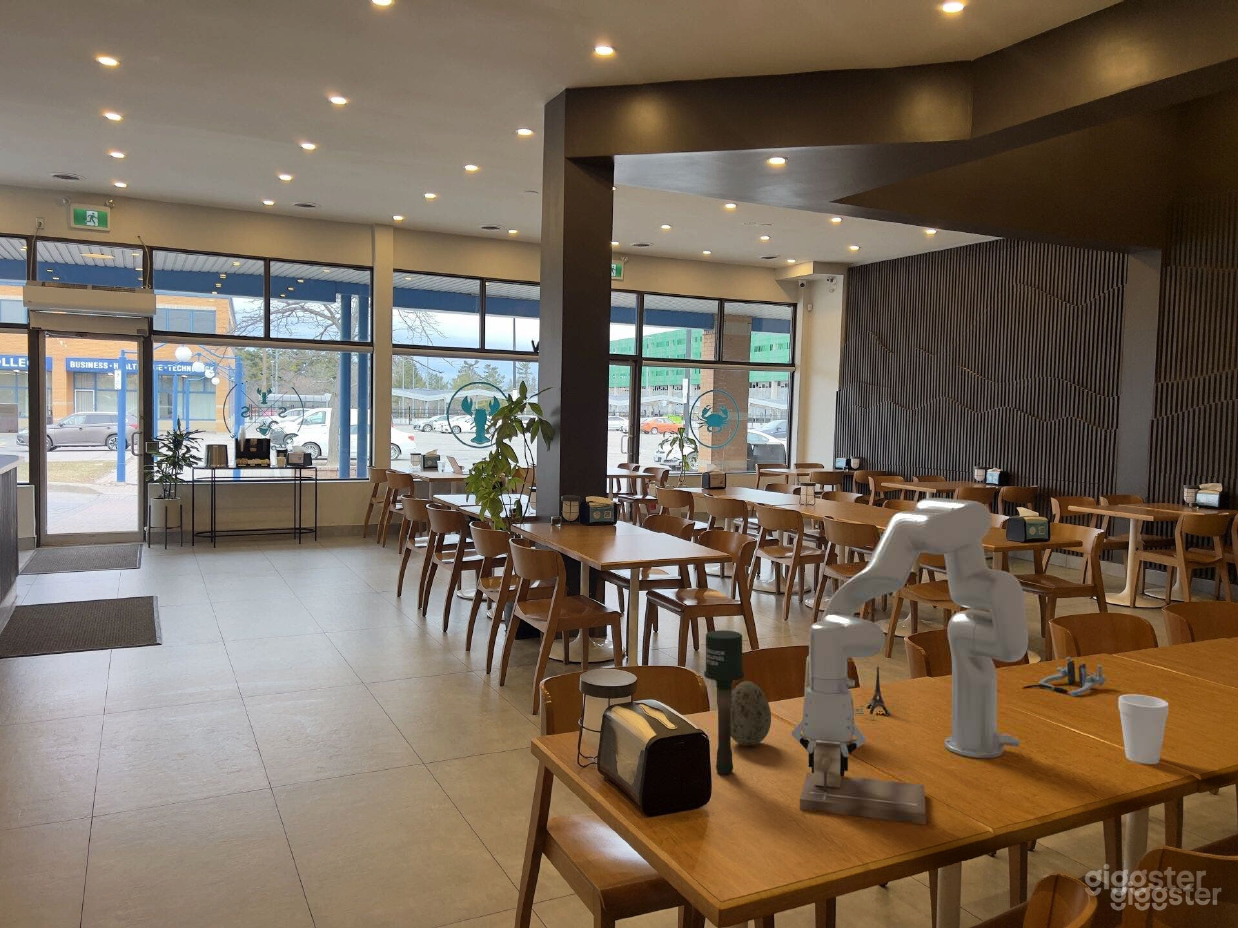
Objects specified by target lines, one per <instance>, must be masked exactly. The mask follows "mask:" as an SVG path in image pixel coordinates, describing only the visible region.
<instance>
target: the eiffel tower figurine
mask: <svg viewBox="0 0 1238 928" xmlns="http://www.w3.org/2000/svg"><path fill="white" fill-rule="evenodd" d="M875 679H876V680H875V689H874V694H873V697H872V698H871V699H870V700H871V701H870V702H869V703H868V704H869V705H868V706H867V707H866V709H870V708H871V710H870V712H869V714H873V711H874V709H875V708H882V709H883V710H884V711H885V714H890V713H888V712H889V711H888V709H887V707H886V705H885V701H884V699H883V697H882V692H881V685H880V684H881V683H880V667H879V665H877V666H876V678H875ZM859 707H862V708H863V707H865V706H863V705H860V706H859ZM855 710H856V711H854V712H860V713H855V714H854V715H856V714H864V713H861V712H863V711H859V710H863V709H855ZM879 712H880V711H879ZM881 712H882V711H881ZM869 714H868V715H869ZM876 714H878V713H876ZM879 714H880V713H879ZM882 714H884V713H882ZM871 721H873V722H876V719H875V720H874V719H871Z"/></svg>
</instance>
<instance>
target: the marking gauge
mask: <svg viewBox="0 0 1238 928" xmlns="http://www.w3.org/2000/svg"><path fill="white" fill-rule="evenodd" d="M814 747H815V749H814V785H820V786H824V792H827V786H829V787H838V788H840V783H841V777H842V776H841V775H840V757H841V753H842V750H841V747H840V744H839V742H832V741H822V740H816V743H815V746H814Z"/></svg>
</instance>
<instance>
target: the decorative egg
mask: <svg viewBox="0 0 1238 928" xmlns="http://www.w3.org/2000/svg"><path fill="white" fill-rule="evenodd" d="M771 724H772V713H771V707H770V704H769V701H768V698H767V697H766V695H765V693H764V692H763V691H762V689H761V688H760V687H759V686H758V685H757V684H756V683H754V682H752V681H751V680H750V681H748V680H745V681H742V682H740V683H738V684H737V685H736V686H735V687H734V688H733V689H732V704H731V739H732V740H734V742H736V743H738V744H739V745H741V746H745V747H753V746H756V745H758V744H760V743H761V742H763V740H764V739H765V738H766V737H767V735H768V733H770V729H771V726H772V725H771Z"/></svg>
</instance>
